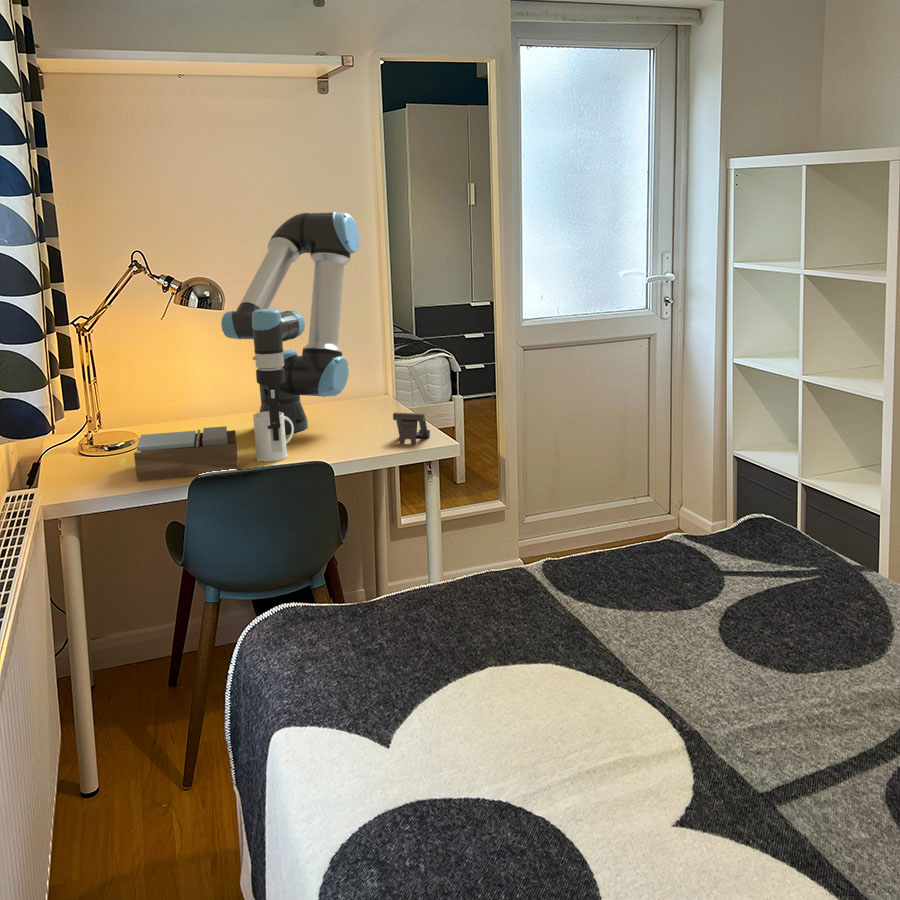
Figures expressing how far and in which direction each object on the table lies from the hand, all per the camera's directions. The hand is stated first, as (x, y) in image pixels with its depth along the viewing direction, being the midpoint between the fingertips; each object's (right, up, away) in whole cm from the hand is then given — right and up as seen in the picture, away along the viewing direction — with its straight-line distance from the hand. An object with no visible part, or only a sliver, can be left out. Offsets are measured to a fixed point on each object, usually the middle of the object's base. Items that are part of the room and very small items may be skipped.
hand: (275, 445), depth 266 cm
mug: (0, -3, +1) cm, 3 cm away
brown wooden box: (-21, -6, -8) cm, 23 cm away
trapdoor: (-22, -3, -9) cm, 24 cm away
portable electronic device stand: (+36, +1, +13) cm, 39 cm away
